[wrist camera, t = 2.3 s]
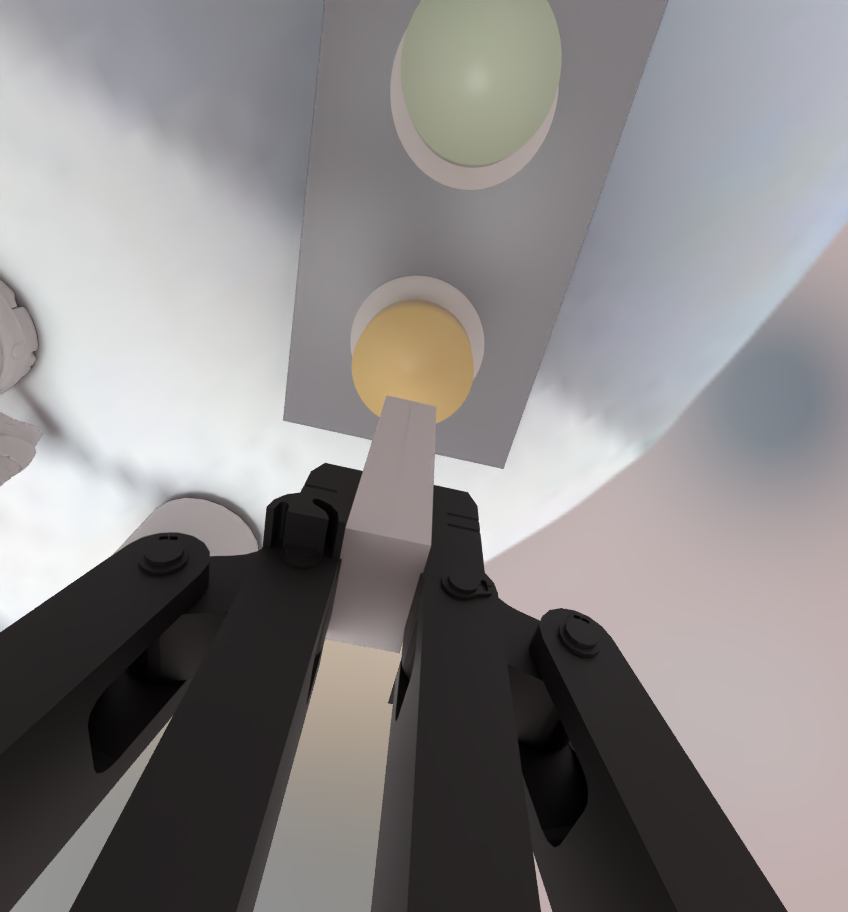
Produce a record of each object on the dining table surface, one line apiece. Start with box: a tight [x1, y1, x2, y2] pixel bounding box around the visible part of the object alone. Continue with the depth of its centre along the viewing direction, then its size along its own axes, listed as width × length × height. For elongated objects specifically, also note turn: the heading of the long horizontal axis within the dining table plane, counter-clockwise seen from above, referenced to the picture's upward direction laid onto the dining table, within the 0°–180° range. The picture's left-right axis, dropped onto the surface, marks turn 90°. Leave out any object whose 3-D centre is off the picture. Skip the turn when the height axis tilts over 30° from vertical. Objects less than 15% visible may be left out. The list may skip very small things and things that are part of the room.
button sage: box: [401, 0, 562, 168], centre depth 16 cm, size 5×5×2 cm
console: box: [283, 0, 668, 469], centre depth 20 cm, size 31×12×3 cm, turn 167°
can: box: [114, 498, 258, 556], centre depth 28 cm, size 8×8×12 cm
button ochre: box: [351, 299, 474, 423], centre depth 21 cm, size 5×5×2 cm
